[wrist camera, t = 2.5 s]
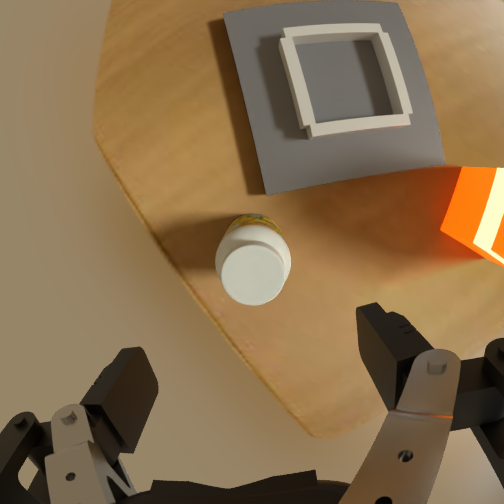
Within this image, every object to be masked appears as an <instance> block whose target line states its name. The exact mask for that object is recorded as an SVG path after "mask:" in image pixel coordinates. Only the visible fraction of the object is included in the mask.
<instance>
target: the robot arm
mask: <svg viewBox="0 0 504 504" xmlns="http://www.w3.org/2000/svg"><path fill="white" fill-rule="evenodd" d="M356 320H357V332H358V346H359V351H360V355H361V358H362V361H363V363H364V365H365V366H366V368H367V370H368V372H369V374H370V376H371V378H372V380H373V382H374V384H375V386H376V388H377V390H378V392H379V394H380V396H381V398H382V400H383V402H384V404H385V406H386V408H387V410H388V414H387V416H386V418H385V421H384V423H383V425H382V427H381V429H380V431H379V433H378V435H377V437H376V439H375V441H374V443H373V445H372V447H371V449H370V451H369V453H368V455H367V457H366V458H365V460H364V462H363V464H362V466H361V467H360V469H359V471H358V473H357V474H356V476H355V478H354V480H353V481H352V483H351V484H348V483H345V482H339V481H330V480H317V477H316V471H315V470H311V471H305V472H299V473H293V474H287V475H280V476H273V477H269V478H266V479H263V480H260V481H257V482H253V483H250V484H246V485H243V486H239V487H235V488H231V489H225V488H219V487H213V486H208V485H203V484H198V483H193V482H189V481H163V480H153V483H152V486H151V489H150V490H149V491H145V492H140V493H137V492H136V490H135V488H134V486H133V484H132V482H131V480H130V478H129V476H128V474H127V472H126V469H125V467H124V465H123V463H122V461H121V460H120V459H119V457H118V456H119V454H120V453H132V454H133V453H134V451H135V448H136V446H137V443H138V441H139V438H140V436H141V433H142V431H143V428H144V426H145V424H146V421H147V419H148V416H149V414H150V411H151V409H152V406H153V404H154V402H155V399H156V397H157V394H158V381H157V379H156V377H155V374H154V372H153V370H152V367H151V365H150V363H149V361H148V359H147V356H146V354H145V352H144V350H143V349H142V348H141V347H132V348H124V349H121V351H120V352H119V353H118V355H117V356H116V358H115V359H114V360H113V362H112V363H111V364H109V365H108V366H107V367H105V368H104V369H103V371H102V372H101V374H100V375H99V377H98V378H97V379H96V381H95V382H94V385H92V386H91V388H90V389H89V391H88V392H87V393H86V395H85V396H84V398H83V399H82V401H81V402H80V404H70V405H67V406H65V407H63V408H61V409H59V410H58V411H57V412H56V413H55V414H54V415H53V417H52V419H51V421H50V422H43V423H39V421H38V420H37V418H36V417H35V415H34V414H33V413H31V412H22V413H20V414H18V415H16V416H15V417H13V418H12V419H11V420H10V421H9V423H8V424H7V425H6V427H5V428H4V429H3V431H2V432H1V433H0V504H427V501H428V499H429V496H430V493H431V490H432V488H433V485H434V482H435V479H436V476H437V473H438V470H439V467H440V464H441V461H442V458H443V454H444V451H445V447H446V444H447V440H448V436H449V432H450V431H455V430H460V429H466V428H471V430H472V432H473V433H474V435H475V437H476V439H477V440H478V442H479V444H480V445H481V447H482V449H483V451H484V453H485V454H486V456H487V458H488V460H489V461H490V463H491V465H492V467H493V469H494V471H495V473H496V475H497V476H498V478H499V480H500V482H501V484H502V486H503V488H504V338H499V339H495V340H493V341H491V342H490V343H489V344H488V345H487V347H486V349H485V354H484V357H480V358H474V359H468V360H460V359H459V357H458V356H457V355H456V354H455V353H453V352H451V351H449V350H444V349H434V348H433V347H432V346H431V345H430V344H429V342H428V341H427V340H426V339H425V338H424V337H423V336H422V335H421V334H420V333H419V332H418V331H416V328H415V327H414V326H413V325H411V323H410V322H409V321H408V320H407V319H406V318H405V317H404V316H402V315H400V314H398V313H395V312H389V313H386V312H385V311H384V310H383V309H382V307H381V306H380V305H379V304H378V303H377V302H375V303H371V304H367V305H364V306H360V307H357V308H356ZM27 457H28V458H29V459H30V460H31V461H32V462H33V463H34V465H35V466H36V467H37V468H38V469H39V470H38V472H37V474H36V476H35V477H34V479H33V481H32V483H31V485H30V487H29V489H28V490H26V489H25V488H24V487H23V486H22V485H21V484H20V482H19V480H18V472H19V470H20V468H21V466H22V465H23V463H24V462H25V460H26V458H27Z"/></svg>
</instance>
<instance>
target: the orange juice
mask: <svg viewBox="0 0 504 504" xmlns="http://www.w3.org/2000/svg"><path fill="white" fill-rule="evenodd" d="M440 230H441V231H443V232H444V233H446V234H448V235H449V236H451V237H453V238H454V239H456V240H458V241H459V242H461V243H462V244H464V245H466V246H467V247H469V248H470V249H472V250H474V251H475V252H477V253H478V254H480V255H481V256H483V257H484V258H486V259H488V260H490V261H492V262H494V263H497V264H499V265H501V266H503V267H504V168H481V167H462V169H461V172H460V175H459V179H458V182H457V185H456V188H455V191H454V194H453V197H452V199H451V202H450V205H449V208H448V210H447V213H446V216H445V218H444V221H443V224H442V226H441V229H440Z"/></svg>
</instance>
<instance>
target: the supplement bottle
mask: <svg viewBox="0 0 504 504" xmlns="http://www.w3.org/2000/svg"><path fill="white" fill-rule="evenodd" d="M215 266H216V271H217V274H218V277H219V279H220V280H221V282H222V285H223V287H224V289H225V291H226V292H227V293H228V295H229V296H230V297H231V298H233V299H234V300H236V301H237V302H239V303H242V304H245V305H261V304H264V303H267V302H269V301H271V300H272V299H273V298H275V297H276V296H277V295H278V294H279V292H280V291H281V289H282V287H283V285H284V282H285V281H286V279H287V277H288V275H289V272H290V267H291V257H290V252H289V249H288V246H287V244H286V242H285V240H284V237H283V235H282V233H281V231H280V229H279V227H278V226H277V225H276V223H275V222H274V221H272V220H271V219H270V218H268V217H266V216H263V215H259V214H247V215H243V216H241V217H239V218H237V219H235V220H234V221H233V222H232V223H231V224H230V225H229V227H228V228H227V230H226V232H225V234H224V236H223V238H222V240H221V242H220V244H219V246H218V249H217V252H216V257H215Z"/></svg>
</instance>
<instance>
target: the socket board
mask: <svg viewBox="0 0 504 504" xmlns="http://www.w3.org/2000/svg"><path fill="white" fill-rule="evenodd" d="M223 17H224V22H225V25H226V29H227V33H228V37H229V41H230V45H231V49H232V52H233V56H234V60H235V64H236V68H237V72H238V76H239V80H240V84H241V88H242V93H243V97H244V101H245V105H246V109H247V113H248V118H249V122H250V126H251V130H252V135H253V139H254V143H255V147H256V152H257V156H258V161H259V165H260V169H261V174H262V178H263V183H264V187H265V192H266V195H272V194H277V193H282V192H287V191H292V190H296V189H302V188H307V187H312V186H317V185H322V184H328V183H333V182H339V181H344V180H350V179H356V178H361V177H367V176H373V175H380V174H386V173H392V172H399V171H405V170H412V169H419V168H426V167H434V166H441V165H446V163H445V157H444V151H443V146H442V140H441V135H440V131H439V126H438V121H437V117H436V113H435V109H434V105H433V101H432V97H431V93H430V90H429V86H428V83H427V79H426V76H425V73H424V70H423V67H422V64H421V61H420V58H419V55H418V52H417V49H416V46H415V44H414V41H413V38H412V36H411V33H410V31H409V28H408V26H407V23H406V21H405V18H404V16H403V14H402V12H401V9H400V7H399V5H398V3H394V2H382V1H364V0H324V1H305V2H293V3H283V4H275V5H267V6H260V7H254V8H248V9H242V10H237V11H232V12H227V13H223Z"/></svg>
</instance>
